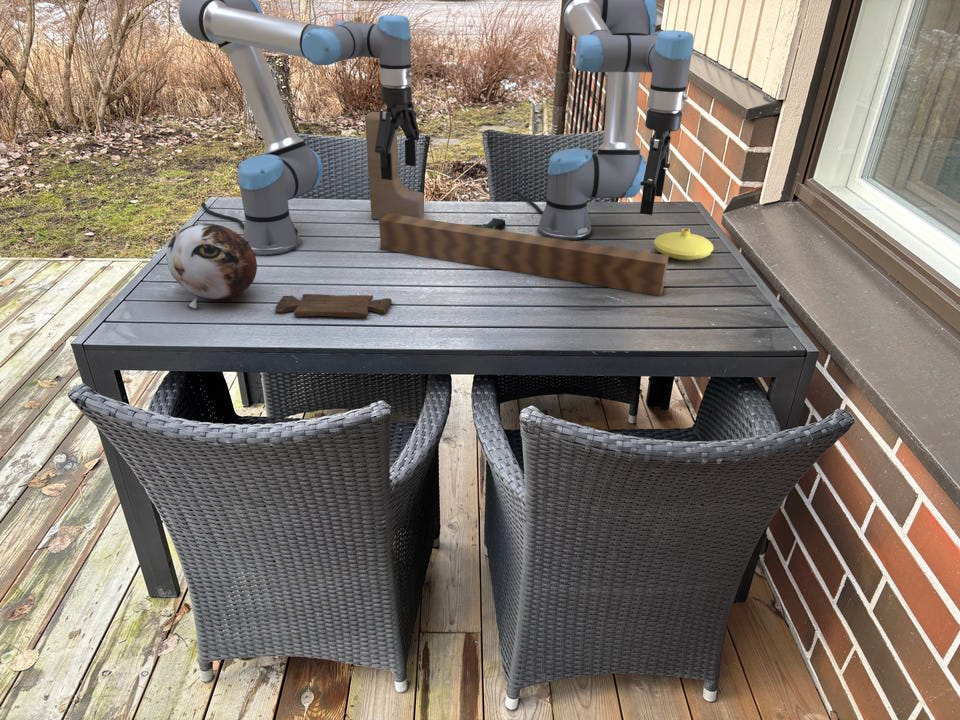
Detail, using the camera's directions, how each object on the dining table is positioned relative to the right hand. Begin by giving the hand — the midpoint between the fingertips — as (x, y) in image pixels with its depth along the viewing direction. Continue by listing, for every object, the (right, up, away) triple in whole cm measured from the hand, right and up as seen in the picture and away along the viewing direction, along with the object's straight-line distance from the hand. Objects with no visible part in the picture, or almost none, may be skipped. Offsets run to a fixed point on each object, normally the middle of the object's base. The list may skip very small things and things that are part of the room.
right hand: (651, 204), depth 166 cm
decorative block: (-65, +8, +52) cm, 84 cm away
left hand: (-61, +13, +20) cm, 65 cm away
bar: (-31, -12, +21) cm, 39 cm away
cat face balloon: (-102, -21, +3) cm, 104 cm away
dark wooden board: (-73, -24, -1) cm, 77 cm away
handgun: (-41, +1, +42) cm, 59 cm away
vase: (+15, -7, +29) cm, 34 cm away
